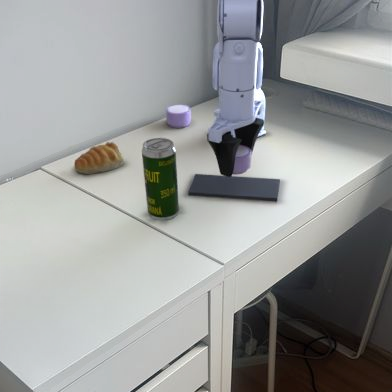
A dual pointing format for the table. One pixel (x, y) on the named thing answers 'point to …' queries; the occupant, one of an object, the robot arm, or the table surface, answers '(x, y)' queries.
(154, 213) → the green metal cylinder
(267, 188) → the felt mat
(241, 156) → the top dish
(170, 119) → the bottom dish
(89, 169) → the pastry
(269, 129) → the table surface
